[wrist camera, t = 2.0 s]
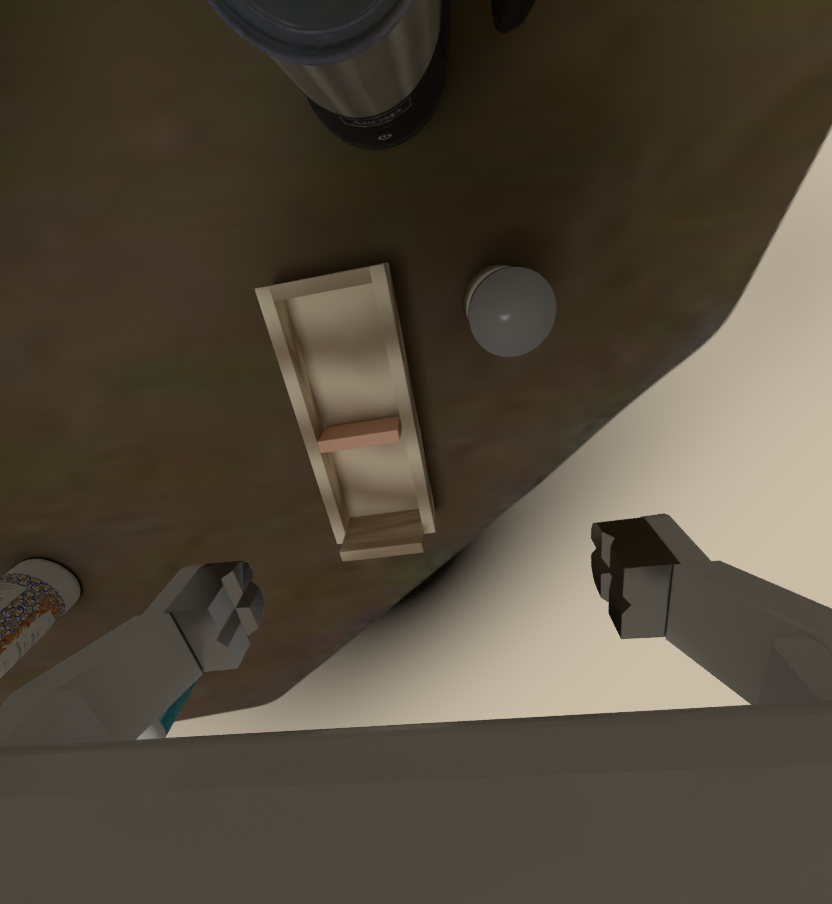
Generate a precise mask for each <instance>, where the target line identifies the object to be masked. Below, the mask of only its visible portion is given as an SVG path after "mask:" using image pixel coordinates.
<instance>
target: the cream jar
mask: <svg viewBox="0 0 832 904" xmlns="http://www.w3.org/2000/svg"><path fill="white" fill-rule="evenodd" d="M463 305H464V311H465V314H466V317H467V319H468V321H469V325H470V328H471V331H472V333H473V335H474V337H475V339H476V340H477V342H478V343H479V344H480V345H481V346H482V347H483V348H484V349H485V350H487V351H488V352H490V353H492V354H494V355H497V356H502V357H516V356H520V355H523V354H526V353H528V352H530V351H532V350H533V349H535V348H536V347H537V346H539V345H540V344H541V343H542V342H543V341H544V340H545V338H546V337H547V336H548V334H549V333H550V331H551V329H552V327H553V324H554V321H555V317H556V299H555V295H554V292H553V290H552V288H551V286H550V284H549V283H548V282H547V280H546V279H545V278H544V277H543V276H541V275H540V274H539V273H537V272H535V271H533V270H531V269H528V268H524V267H517V266H508V265H503V264H497V265H491V266H488V267H486V268H484V269H482V270H480V271H479V272H478V273H476V274H475V275H474V276H473V278H472V279H471V280H470V282H469V283H468V285H467V287H466V290H465V293H464V300H463Z"/></svg>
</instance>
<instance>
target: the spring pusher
mask: <svg viewBox="0 0 832 904" xmlns="http://www.w3.org/2000/svg"><path fill="white" fill-rule="evenodd" d="M401 432H402V424H401V420H400V416H395V417H388V418H382V419H375V420H369V421H362V422H355V423H349V424H342V425H336V426H329V427H326V428H325V430H324V431H323V433H322V435H321V436H320V438H319V440H318V441H317V443H318V446H319V449H320V453H326V452H333V451H340V450H346V449H353V448H360V447H367V446H374V445H381V444H388V443H395V442H400V438H401Z"/></svg>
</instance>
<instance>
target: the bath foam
mask: <svg viewBox="0 0 832 904" xmlns="http://www.w3.org/2000/svg"><path fill="white" fill-rule="evenodd" d="M80 592H81V590H80V585H79V583H78V581H77V579H76V578H75V576H74V575H73V574H72V573H71V572H70V571H68V570H67V569H66V568H64V567H63V566H61V565H59V564H57V563H54V562H51V561H48V560H44V559H30V560H26V561H23V562H21V563H19V564H18V565H17V566H15V567H14V568H13V569H11V570H10V571H9V572H7V573H6V574H5V575H3V576H2V577H0V678H1V677H2V676H3V675H4V674H5V673H6V672H7V671H8V670H9V669H10V668H11V667H12V666H13V665H14V664H15V663H16V662H17V661H18V660H19V659H20V658H21V657H22V656H23V655H24V654H25V653H26V652H27V651H28V650H29V649H30V648H31V647H32V646H33V645H34V644H35V643H36V642H37V641H38V640H39V639H40V638H41V637H42V636H43V635H44V634H45V633H46V632H47V631H48V630H49V629H50V628H51V627H52V626H53V625H54V624H55V623H56V622H57V621H58V620H59V619H60V618H61V617H62V616H63V615H64V614H65V613H66V612H67V611H68V610H69V609H70V608H71V607H72V606H73V605H74V604H75V603H76V602H77V600H78V599H79V597H80Z"/></svg>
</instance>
